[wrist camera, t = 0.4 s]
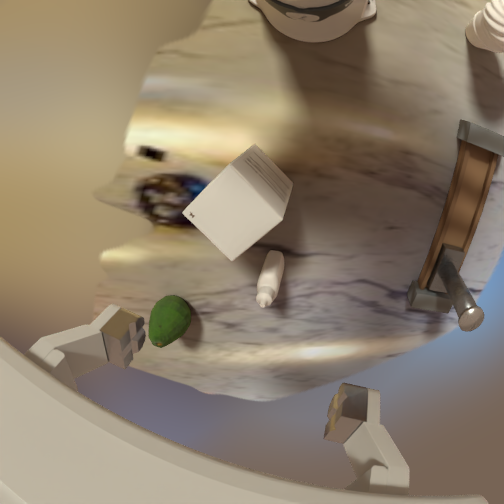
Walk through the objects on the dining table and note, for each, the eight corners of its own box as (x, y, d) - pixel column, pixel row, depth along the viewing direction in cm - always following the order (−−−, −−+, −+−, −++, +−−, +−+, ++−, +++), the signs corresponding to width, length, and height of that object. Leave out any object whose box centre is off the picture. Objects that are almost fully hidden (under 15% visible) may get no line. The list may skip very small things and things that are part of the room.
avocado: (168, 316, 68) (144, 353, 57) (158, 286, 64) (131, 323, 54) (201, 319, 66) (180, 359, 56) (193, 288, 62) (169, 327, 52)
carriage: (442, 242, 45) (473, 294, 33) (461, 247, 45) (495, 298, 32) (426, 283, 49) (448, 340, 37) (444, 286, 49) (469, 343, 36)
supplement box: (254, 218, 53) (230, 264, 40) (216, 179, 51) (178, 213, 38) (296, 184, 48) (285, 221, 35) (255, 141, 46) (228, 162, 34)
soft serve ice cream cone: (499, 65, 31) (557, 64, 17) (456, 54, 32) (508, 44, 19) (493, 18, 27) (548, 3, 13) (450, 6, 29) (497, -20, 15)
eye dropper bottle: (294, 259, 55) (286, 301, 44) (276, 280, 57) (264, 324, 47) (273, 245, 54) (260, 284, 44) (255, 267, 57) (239, 309, 47)
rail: (460, 119, 37) (470, 122, 34) (501, 136, 36) (513, 140, 33) (406, 293, 53) (411, 307, 50) (444, 300, 52) (449, 313, 48)
